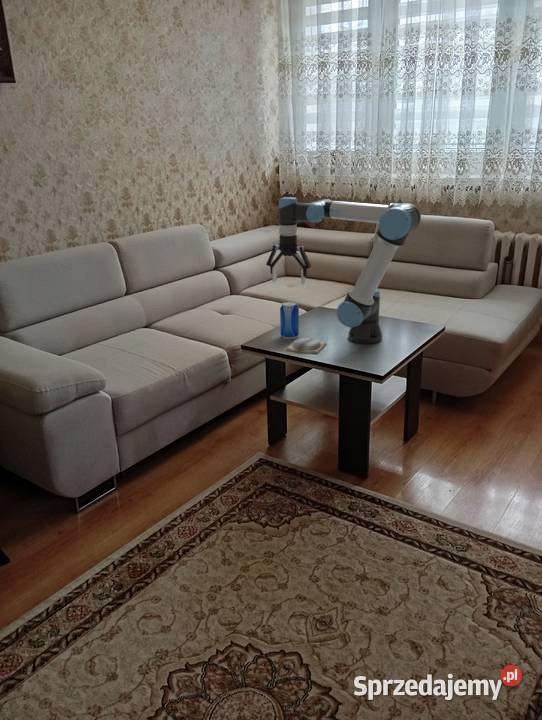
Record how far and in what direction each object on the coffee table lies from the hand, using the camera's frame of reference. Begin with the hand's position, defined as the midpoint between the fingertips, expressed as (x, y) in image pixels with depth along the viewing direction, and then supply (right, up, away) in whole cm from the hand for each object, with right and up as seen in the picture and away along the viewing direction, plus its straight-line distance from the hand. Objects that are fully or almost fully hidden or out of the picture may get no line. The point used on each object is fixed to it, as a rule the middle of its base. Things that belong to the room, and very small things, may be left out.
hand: (288, 282), depth 271 cm
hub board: (+8, -29, -4) cm, 30 cm away
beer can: (+1, -24, +9) cm, 26 cm away
